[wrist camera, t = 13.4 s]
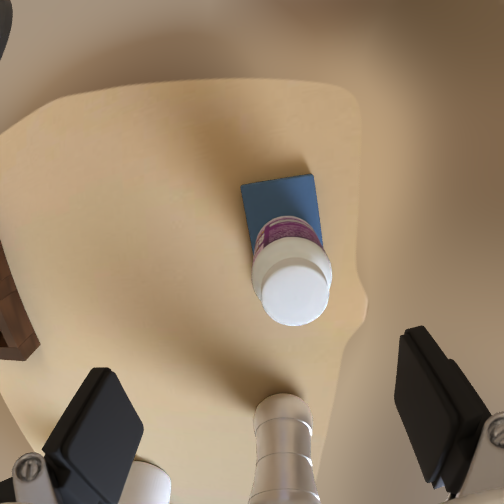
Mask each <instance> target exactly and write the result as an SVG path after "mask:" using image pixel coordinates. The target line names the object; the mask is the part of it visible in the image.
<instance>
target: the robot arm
mask: <svg viewBox="0 0 504 504" xmlns="http://www.w3.org/2000/svg"><path fill="white" fill-rule="evenodd" d="M398 354H399V355H398V365H397V375H396V384H395V393H394V400H395V404H396V407H397V410H398V412H399V415H400V417H401V419H402V422H403V424H404V427H405V429H406V432H407V434H408V437H409V439H410V442H411V444H412V447H413V450H414V452H415V455H416V457H417V460H418V463H419V465H420V468H421V470H422V473H423V476H424V479H425V481H426V482H427V483H430V482H431V483H432V485H433V488H434V489H436V488H439V487H442V486H445V488H446V491H447V492H449V495H448V497H447V499H446V501H445V502H443V503H440V504H504V412H499V413H496V414H494V415H491V413H490V412H489V410H488V409H487V407H486V406H485V404H484V403H483V401H482V400H481V398H480V397H479V395H478V394H477V392H476V391H475V389H474V388H473V386H472V385H471V383H470V382H469V381H468V379H467V378H466V376H465V375H464V373H463V372H462V371H461V369H460V368H459V366H458V365H457V364H456V363H455V361H454V360H452V359H448V358H447V357H446V356H445V354H444V353H443V351H442V350H441V349H440V347H439V346H438V344H437V343H436V342H435V340H434V339H433V338H432V336H431V335H430V334H429V332H428V331H427V330H426V328H425V327H424V326H418V327H414V328H410V329H406V330H405V333H404V335H401V336H400V341H399V353H398ZM143 431H144V428H143V424H142V422H141V420H140V418H139V416H138V415H137V413H136V411H135V409H134V408H133V406H132V404H131V402H130V400H129V398H128V397H127V395H126V393H125V391H124V389H123V387H122V385H121V383H120V381H119V379H118V377H117V375H116V374H115V373H114V372H112V371H111V369H109V368H107V367H105V368H93V369H92V370H91V371H90V372H89V374H88V375H87V377H86V378H85V380H84V382H83V383H82V385H81V386H80V388H79V389H78V391H77V392H76V394H75V396H74V397H73V399H72V400H71V402H70V404H69V405H68V407H67V408H66V410H65V412H64V413H63V415H62V416H61V418H60V420H59V421H58V423H57V425H56V426H55V428H54V430H53V431H52V433H51V435H50V436H49V438H48V440H47V441H46V443H45V445H44V446H43V448H42V450H43V452H44V453H45V456H44V457H43V456H41V455H40V454H38V453H33V452H31V453H27V454H25V455H23V456H21V457H20V458H19V459H18V460H17V461H16V462H15V464H14V466H13V469H12V477H11V478H9V479H6V480H4V481H2V482H0V504H118V503H119V500H120V497H121V494H122V491H123V488H124V485H125V483H126V480H127V477H128V474H129V471H130V468H131V465H132V462H133V460H134V457H135V454H136V451H137V448H138V446H139V443H140V440H141V437H142V435H143Z"/></svg>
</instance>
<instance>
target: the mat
mask: <svg viewBox="0 0 504 504" xmlns="http://www.w3.org/2000/svg"><path fill="white" fill-rule="evenodd" d="M241 193H242V198H243V203H244V209H245V214H246V219H247V224H248V230H249V235H250V240H251V245H252V251H253V256H254V251H255V244H256V239H257V236H258V234H259V232H260V230H261V229H262V228H263V226H264V225H265V224H266V223H268V222H269V221H271V220H272V219H274V218H277V217H281V216H294V217H298V218H300V219H302V220H304V221H306V222H307V223H308V224H309V225H310V226H311V227H312V228H313V229H314V231H315V233H316V235H317V237H318V239H319V241H320V243H321V245H322V247H323V242H322V234H321V226H320V218H319V211H318V203H317V196H316V189H315V182H314V176H313V175H312V174H306V175H299V176H293V177H286V178H280V179H274V180H268V181H262V182H256V183H250V184H244V185H241Z"/></svg>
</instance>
